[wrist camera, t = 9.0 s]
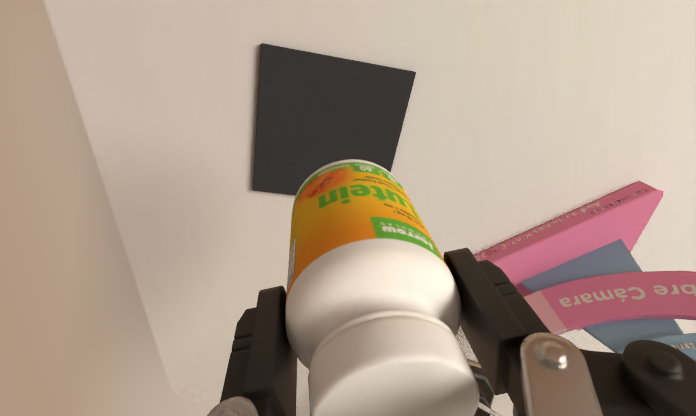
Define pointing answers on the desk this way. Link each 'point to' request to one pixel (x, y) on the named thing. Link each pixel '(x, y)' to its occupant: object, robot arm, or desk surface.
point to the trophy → (600, 274)
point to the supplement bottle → (372, 301)
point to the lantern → (483, 391)
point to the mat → (323, 115)
